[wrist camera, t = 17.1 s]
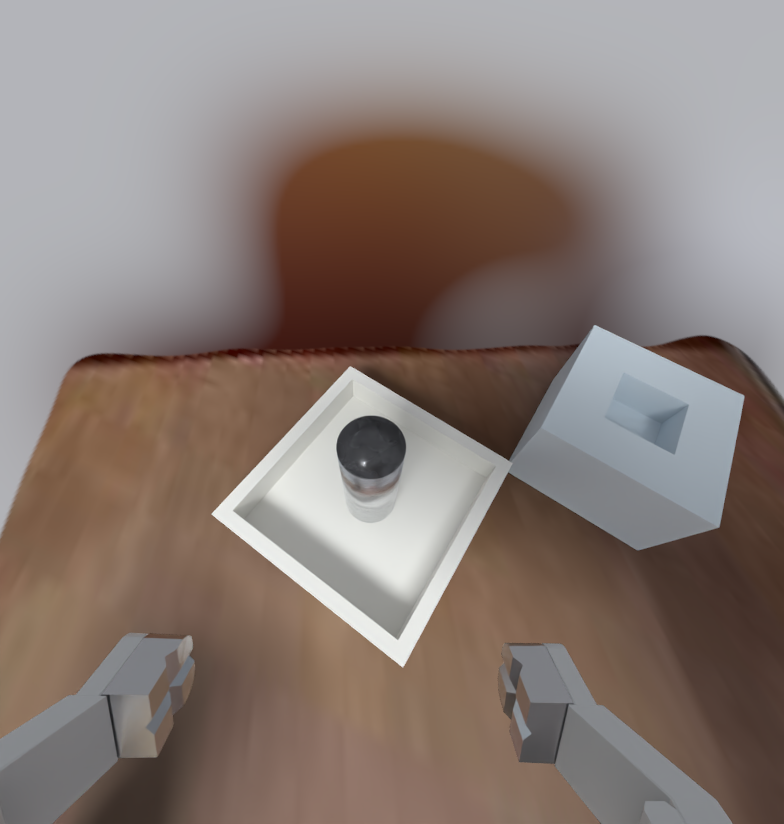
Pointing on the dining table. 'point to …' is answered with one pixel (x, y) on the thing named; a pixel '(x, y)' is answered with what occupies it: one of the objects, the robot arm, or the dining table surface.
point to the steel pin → (371, 466)
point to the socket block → (632, 442)
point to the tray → (358, 541)
